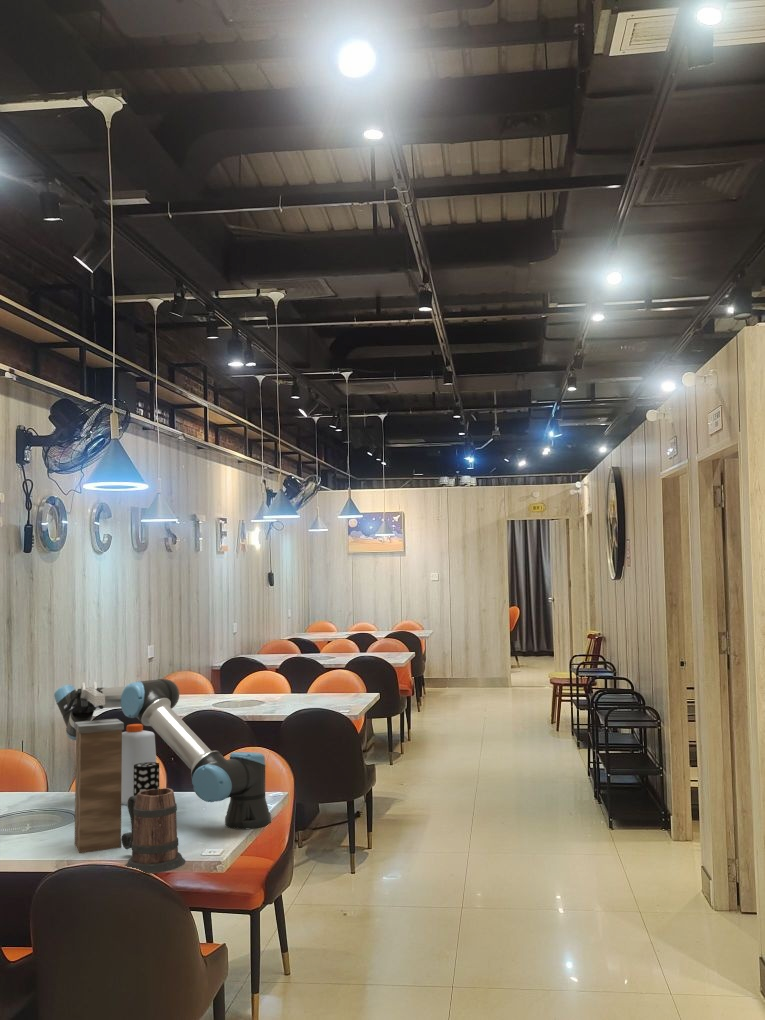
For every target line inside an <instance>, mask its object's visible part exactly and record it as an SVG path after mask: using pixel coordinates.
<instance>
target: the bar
mask: <svg viewBox="0 0 765 1020" xmlns="http://www.w3.org/2000/svg"><path fill="white" fill-rule="evenodd" d="M92 687H93V686H92ZM92 687H91V686H89V687H86V686H85V692H84V696H83V698H84V699H86V700H87V701H89V702H90V703H92V704H93V705H94V706H99V705H105V695H104V694H102V693H100V692H98V691H97V690H95V689H93V688H92Z"/></svg>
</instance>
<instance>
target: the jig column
mask: <svg viewBox="0 0 765 1020" xmlns="http://www.w3.org/2000/svg"><path fill="white" fill-rule="evenodd" d="M74 729H75V730H76V740H75V780H74V781H75V787H74V793H75V794H74V796H75V798H74V799H75V800H74V845H75V848H76V849H77V852H78V853H79V854H86V853H90V852H98V851H104V850H105V851H106V850H112V849H118V848H121V847H122V841H121V838H122V804H121V782H122V732H123V731H124V730H125V723H124V722H123V721H121V720H120V719H118V718H107V719H96V720H91V721H80V722H74Z"/></svg>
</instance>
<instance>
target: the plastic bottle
mask: <svg viewBox="0 0 765 1020" xmlns="http://www.w3.org/2000/svg"><path fill="white" fill-rule="evenodd" d="M156 750H157V748H156V734H155V733H154V731H149V730H144V725H143V724H142V723H132V724H127V725H126V731H122V782H121V805H122V806H123V805H124V806H128V799H129V798H130V797H131V796H134V765H135V764H139V763H147V762H156V763H157V751H156Z"/></svg>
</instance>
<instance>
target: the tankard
mask: <svg viewBox="0 0 765 1020" xmlns="http://www.w3.org/2000/svg"><path fill="white" fill-rule="evenodd" d="M127 811H128V814H129V817H130V825H131V832H125V833H122V834H121V846H123V849H124V850H129V849H131V856H130V857H129V859H128V860H127V863H125V865H124V866H127V867H132V868H136V869H139V870H141V871H143V872H145V873H148V875H150V874H160V873H165V872H170V871H174V870H177V869H178V868H180V867H181V868H182V866H184V865H185V864H186V859H185V858H184V857H183V856H182V854H181V853H180V852H179V848H178V847H179V837H178V828H177V827H178V826H177V825H178V823H177V821H178V820H177V811H178V805H177V803H176V798H175V793H174V789H172V788H168V787H167V788H159V789H150V790H145V791H141V792H139V793H138V794H137V795H135V796H131V797H130V798H129V799H128V805H127Z"/></svg>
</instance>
